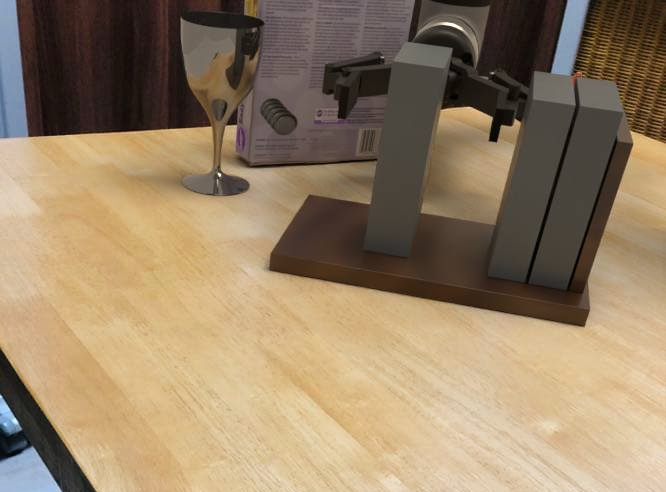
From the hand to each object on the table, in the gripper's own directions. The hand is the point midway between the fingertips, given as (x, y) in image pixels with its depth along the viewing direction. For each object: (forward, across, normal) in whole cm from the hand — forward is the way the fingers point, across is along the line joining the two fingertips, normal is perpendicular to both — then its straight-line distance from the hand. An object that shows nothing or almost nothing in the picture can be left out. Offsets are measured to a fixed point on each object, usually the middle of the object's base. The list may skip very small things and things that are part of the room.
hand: (419, 114), depth 76 cm
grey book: (+4, 0, -10) cm, 10 cm away
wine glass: (-7, +20, -11) cm, 24 cm away
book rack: (+4, -4, -11) cm, 13 cm away
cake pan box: (-21, +12, -11) cm, 26 cm away
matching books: (+5, -12, -9) cm, 16 cm away
